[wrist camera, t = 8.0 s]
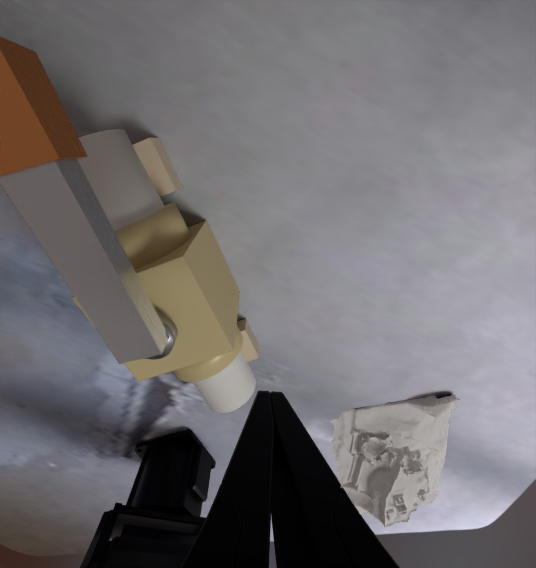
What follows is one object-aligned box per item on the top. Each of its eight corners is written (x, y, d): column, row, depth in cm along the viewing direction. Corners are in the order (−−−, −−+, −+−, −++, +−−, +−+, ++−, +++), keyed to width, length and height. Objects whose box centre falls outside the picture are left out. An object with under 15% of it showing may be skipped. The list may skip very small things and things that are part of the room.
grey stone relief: (443, 367, 29) (479, 406, 24) (453, 491, 38) (481, 537, 33) (291, 408, 30) (297, 453, 26) (336, 518, 39) (347, 566, 35)
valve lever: (188, 341, 14) (177, 373, 12) (141, 352, 15) (123, 386, 13) (50, 58, 9) (-10, 32, 7) (-21, 81, 9) (-99, 63, 7)
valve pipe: (203, 367, 25) (186, 441, 19) (75, 163, 17) (-28, 173, 11) (266, 347, 24) (270, 418, 18) (162, 126, 16) (105, 113, 10)
